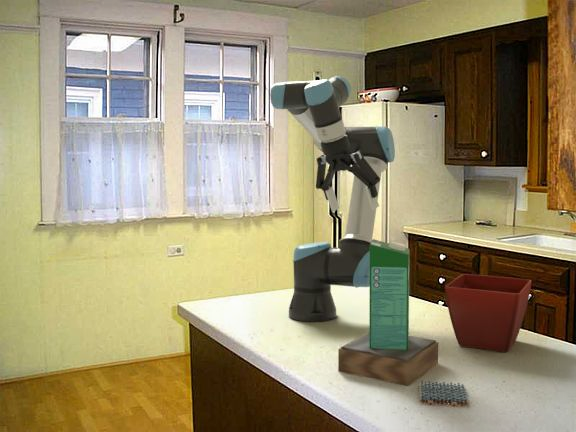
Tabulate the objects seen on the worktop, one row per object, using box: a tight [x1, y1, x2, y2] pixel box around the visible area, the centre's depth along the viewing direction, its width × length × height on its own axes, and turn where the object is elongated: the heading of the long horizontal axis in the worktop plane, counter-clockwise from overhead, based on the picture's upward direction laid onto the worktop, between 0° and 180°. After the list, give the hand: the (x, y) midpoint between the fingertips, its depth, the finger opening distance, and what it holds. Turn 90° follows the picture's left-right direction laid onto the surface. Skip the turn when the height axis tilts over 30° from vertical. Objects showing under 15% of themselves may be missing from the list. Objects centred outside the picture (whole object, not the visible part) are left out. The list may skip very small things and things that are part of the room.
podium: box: [337, 332, 439, 386], centre depth 163 cm, size 18×18×6 cm
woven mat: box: [418, 380, 470, 407], centre depth 144 cm, size 10×11×2 cm
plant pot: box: [444, 273, 532, 353], centre depth 181 cm, size 19×19×17 cm
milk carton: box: [368, 238, 410, 350], centre depth 161 cm, size 9×9×25 cm
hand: (355, 209), depth 187 cm, fingers open, 13 cm apart
